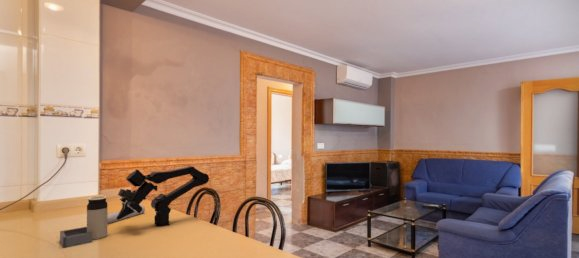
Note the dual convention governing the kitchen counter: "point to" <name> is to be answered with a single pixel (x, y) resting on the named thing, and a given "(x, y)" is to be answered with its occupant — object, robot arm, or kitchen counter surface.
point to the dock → (75, 237)
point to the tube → (113, 216)
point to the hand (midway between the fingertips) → (117, 219)
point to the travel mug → (97, 217)
